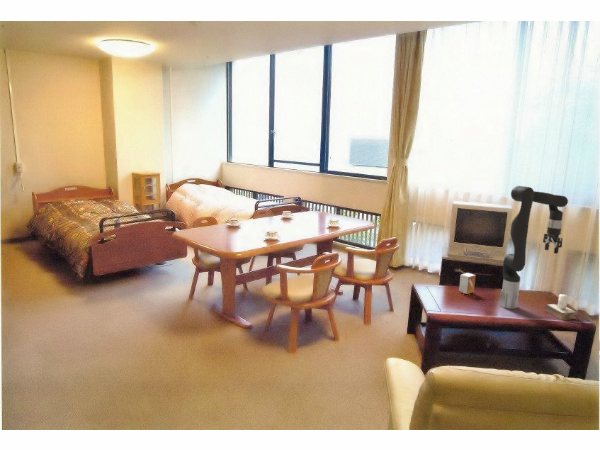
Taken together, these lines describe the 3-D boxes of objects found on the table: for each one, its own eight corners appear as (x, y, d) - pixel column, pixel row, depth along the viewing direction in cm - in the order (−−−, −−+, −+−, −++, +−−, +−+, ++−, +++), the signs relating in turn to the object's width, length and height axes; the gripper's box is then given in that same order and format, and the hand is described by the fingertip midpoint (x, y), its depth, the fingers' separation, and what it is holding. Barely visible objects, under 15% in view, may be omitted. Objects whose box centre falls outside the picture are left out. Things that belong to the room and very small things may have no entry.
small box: (466, 295, 286) (468, 276, 284) (458, 292, 292) (460, 274, 289) (474, 293, 291) (475, 275, 288) (465, 290, 296) (467, 272, 293)
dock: (561, 319, 249) (562, 313, 248) (545, 310, 263) (546, 304, 262) (577, 319, 250) (578, 312, 249) (560, 310, 264) (561, 303, 263)
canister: (561, 309, 253) (562, 296, 252) (555, 306, 258) (557, 294, 256) (567, 309, 254) (569, 296, 252) (562, 306, 258) (564, 294, 257)
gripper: (541, 224, 277) (538, 249, 280) (556, 229, 263) (553, 254, 266) (552, 224, 278) (548, 248, 281) (568, 229, 264) (564, 254, 267)
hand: (551, 251), depth 273 cm, fingers open, 8 cm apart
